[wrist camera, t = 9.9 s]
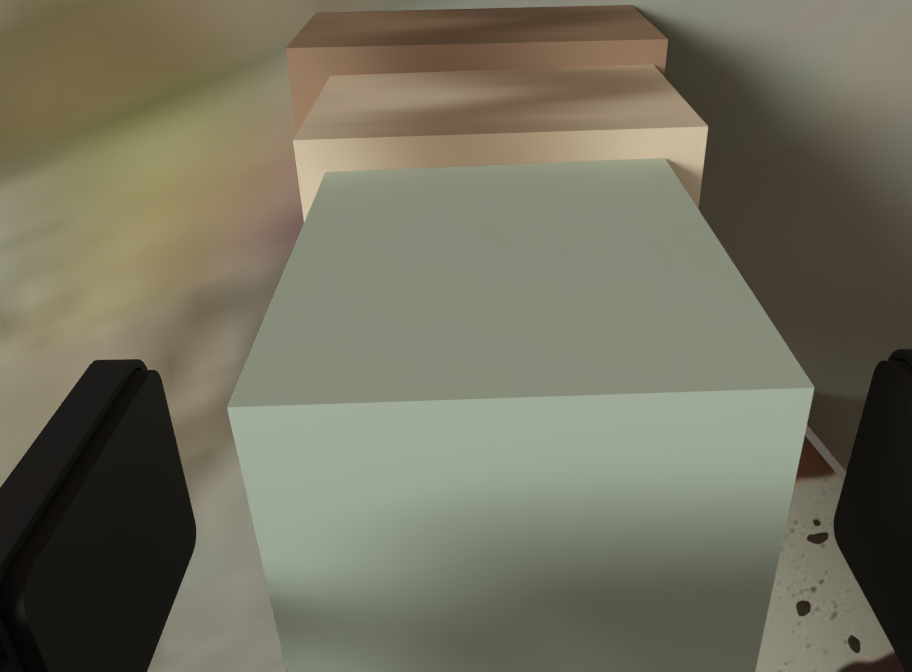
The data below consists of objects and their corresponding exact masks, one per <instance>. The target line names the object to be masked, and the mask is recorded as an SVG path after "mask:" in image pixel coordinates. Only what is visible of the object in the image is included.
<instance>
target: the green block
mask: <svg viewBox="0 0 912 672" xmlns="http://www.w3.org/2000/svg"><path fill="white" fill-rule="evenodd" d="M814 388H815V387H814V386H813V384H812V383H811V381H810V380H809V378H808V377H807V375H806V374H805V372H804V371H803V369H802V368H801V366H800V364H799V363H798V361H797V360H796V358H795V357H794V355H793V354H792V352H791V351H790V349H789V348H788V346H787V345H786V343H785V341H784V340H783V338H782V337H781V335H780V334H779V332H778V331H777V329H776V328H775V326H774V325H773V323H772V322H771V320H770V318H769V317H768V315H767V314H766V312H765V311H764V309H763V308H762V306H761V305H760V303H759V302H758V300H757V299H756V297H755V295H754V294H753V292H752V291H751V289H750V288H749V286H748V285H747V283H746V282H745V280H744V279H743V277H742V276H741V274H740V272H739V271H738V269H737V268H736V266H735V265H734V263H733V262H732V260H731V259H730V257H729V256H728V254H727V253H726V251H725V249H724V248H723V246H722V245H721V243H720V242H719V240H718V239H717V237H716V236H715V234H714V233H713V231H712V230H711V228H710V226H709V225H708V223H707V222H706V220H705V219H704V217H703V216H702V214H701V213H700V211H699V210H698V208H697V207H696V205H695V203H694V202H693V200H692V199H691V197H690V196H689V194H688V193H687V191H686V190H685V188H684V187H683V185H682V184H681V182H680V180H679V179H678V177H677V176H676V174H675V173H674V171H673V170H672V168H671V167H670V165H669V164H668V162H667V161H666V159H665V158H654V159H630V160H606V161H581V162H557V163H533V164H509V165H484V166H460V167H436V168H412V169H388V170H363V171H339V172H325V174H324V176H323V179H322V181H321V184H320V186H319V188H318V191H317V193H316V196H315V198H314V200H313V203H312V205H311V208H310V210H309V212H308V215H307V217H306V220H305V222H304V224H303V227H302V229H301V232H300V234H299V236H298V239H297V241H296V244H295V246H294V248H293V251H292V253H291V256H290V258H289V260H288V263H287V265H286V268H285V270H284V272H283V275H282V277H281V280H280V282H279V284H278V287H277V289H276V291H275V294H274V296H273V299H272V301H271V303H270V306H269V308H268V311H267V313H266V315H265V318H264V320H263V323H262V325H261V327H260V330H259V332H258V335H257V337H256V339H255V342H254V344H253V347H252V349H251V351H250V354H249V356H248V359H247V361H246V363H245V366H244V368H243V371H242V373H241V375H240V378H239V380H238V383H237V385H236V387H235V390H234V392H233V395H232V397H231V399H230V402H229V404H228V407H227V409H228V413H229V418H230V422H231V427H232V431H233V436H234V440H235V445H236V449H237V454H238V458H239V462H240V467H241V471H242V476H243V480H244V485H245V489H246V494H247V498H248V502H249V507H250V511H251V516H252V520H253V525H254V529H255V534H256V538H257V542H258V547H259V551H260V556H261V560H262V565H263V569H264V574H265V578H266V583H267V587H268V591H269V596H270V600H271V605H272V609H273V614H274V618H275V623H276V627H277V631H278V636H279V640H280V645H281V649H282V654H283V658H284V663H285V667H286V672H755V671H756V666H757V661H758V656H759V651H760V647H761V642H762V637H763V632H764V628H765V623H766V618H767V613H768V608H769V604H770V599H771V594H772V589H773V585H774V580H775V575H776V570H777V565H778V561H779V556H780V551H781V546H782V541H783V537H784V532H785V527H786V522H787V518H788V513H789V508H790V503H791V498H792V494H793V489H794V484H795V479H796V474H797V470H798V465H799V460H800V455H801V451H802V446H803V441H804V436H805V431H806V427H807V422H808V417H809V412H810V408H811V403H812V398H813V393H814Z"/></svg>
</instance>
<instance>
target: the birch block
mask: <svg viewBox="0 0 912 672" xmlns="http://www.w3.org/2000/svg"><path fill="white" fill-rule="evenodd" d="M707 133H708V126H707V125H706V123H705V122H704V121H703V120H702V119H701V118H700V117H699V116H698V114H697V113H696V112H695V111H694V110H693V109H692V108H691V107H690V105H689V104H688V103H687V102H686V101H685V100H684V99H683V98H682V96H681V95H680V94H679V93H678V92H677V91H676V90H675V88H674V87H673V86H672V85H671V84H670V83H669V82H668V81H667V79H666V78H665V77H664V76H663V75H662V74H661V73H660V72H659V70H658V69H657V68H656V67H655V66H654V65H653V64H650V65H621V66H593V67H564V68H535V69H507V70H478V71H450V72H421V73H392V74H364V75H335V76H330V77H329V79H328V81H327V82H326V84H325V86H324V88H323V89H322V91H321V93H320V94H319V96H318V98H317V100H316V101H315V103H314V105H313V107H312V108H311V110H310V112H309V113H308V115H307V117H306V119H305V120H304V122H303V124H302V126H301V127H300V129H299V131H298V132H297V134H296V136H295V138H294V139H293V144H294V151H295V158H296V166H297V173H298V180H299V188H300V195H301V202H302V210H303V217H304V222H305V220H306V217H307V215H308V212H309V210H310V208H311V205H312V203H313V200H314V198H315V196H316V193H317V191H318V188H319V186H320V184H321V181H322V179H323V176H324V174H325V172H339V171H363V170H388V169H412V168H436V167H460V166H484V165H509V164H533V163H557V162H581V161H606V160H630V159H654V158H665V159H666V161H667V162H668V164H669V165H670V167H671V168H672V170H673V171H674V173H675V174H676V176H677V177H678V179H679V180H680V182H681V184H682V185H683V187H684V188H685V190H686V191H687V193H688V194H689V196H690V197H691V199H692V200H693V202H694V203H695V205H696V207H697V208H698V209H699V200H700V192H701V184H702V175H703V167H704V158H705V150H706V142H707Z"/></svg>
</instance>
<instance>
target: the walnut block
mask: <svg viewBox="0 0 912 672" xmlns="http://www.w3.org/2000/svg"><path fill="white" fill-rule="evenodd" d="M667 46H668V39H667V38H666V37H665V36H664V35H663V34H662V33H661V32H660V31H659V30H658V29H657V28H656V27H655V26H653V25H652V24H651V23H650V22H649V21H648V20H647V19H646V18H645V17H644V16H643V15H642V14H641V13H640V12H638V11H637V10H636V9H635V8H634V7H633V6H632V5H613V6H572V7H530V8H488V9H447V10H405V11H364V12H322V13H316V14H315V15H314V16H313V17H312V18H311V19H310V21H309V22H308V23H307V24H306V25H305V26H304V28H303V29H302V30H301V31H300V32H299V33H298V35H297V36H296V37H295V38H294V39H293V40H292V42H291V43H290V44H289V45H288V46H287V47H286V54H287V62H288V70H289V78H290V86H291V94H292V103H293V111H294V119H295V127H296V134H297V132H298V131H299V129H300V127H301V126H302V124H303V122H304V120H305V119H306V117H307V115H308V113H309V112H310V110H311V108H312V107H313V105H314V103H315V101H316V100H317V98H318V96H319V94H320V93H321V91H322V89H323V88H324V86H325V84H326V82H327V81H328V79H329V77H330V76H335V75H364V74H392V73H421V72H450V71H478V70H507V69H535V68H564V67H593V66H621V65H650V64H653V65H654V66H655V67H656V68H657V69H658V70H659V72H660V73H661V74H662V75H663V76H665V66H666V56H667Z"/></svg>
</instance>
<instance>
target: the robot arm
mask: <svg viewBox="0 0 912 672" xmlns="http://www.w3.org/2000/svg"><path fill="white" fill-rule="evenodd" d="M833 528H834V535H835V539H836V542H837V545H838V547H839V549H840V551H841V553H842V555H843V556H844V558H845V560H846V562H847V564H848V566H849V568H850V569H851V571H852V573H853V575H854V577H855V579H856V581H857V582H858V584H859V586H860V588H861V590H862V592H863V594H864V595H865V597H866V599H867V601H868V603H869V605H870V607H871V608H872V610H873V612H874V614H875V616H876V618H877V620H878V621H879V623H880V625H881V627H882V629H883V631H884V633H885V634H886V636H887V638H888V640H889V642H890V644H891V646H892V647H893V649H894V651H895V653H896V655H897V657H898V659H899V660H900V662H901V664H902V666H903V668H904V670H905V672H912V349H898V350H896V351H894V352H893V353H892V354H891V356H890V357H889V359H888V361H881V362H879V363H878V365H877V366H876V368H875V371H874V374H873V377H872V381H871V384H870V388H869V392H868V395H867V399H866V403H865V406H864V410H863V414H862V417H861V421H860V424H859V428H858V432H857V435H856V439H855V443H854V446H853V450H852V454H851V457H850V461H849V464H848V468H847V472H846V475H845V479H844V483H843V486H842V490H841V494H840V497H839V501H838V504H837V508H836V512H835V515H834V525H833ZM195 542H196V524H195V519H194V515H193V511H192V506H191V502H190V498H189V494H188V490H187V485H186V481H185V477H184V473H183V468H182V464H181V460H180V456H179V451H178V447H177V443H176V439H175V435H174V430H173V426H172V422H171V418H170V413H169V409H168V405H167V401H166V397H165V392H164V388H163V384H162V380H161V377H160V375H159V373H158V372H157V371H155V370H147V367H146V365H145V364H144V362H143V361H141V360H139V359H133V360H96V361H94V362H93V363H92V364H90V366H89V367H88V368H87V370H86V371H85V373H84V374H83V375H82V377H81V378H80V379H79V381H78V382H77V383H76V385H75V386H74V388H73V389H72V390H71V392H70V393H69V394H68V396H67V397H66V399H65V400H64V401H63V403H62V404H61V405H60V407H59V408H58V410H57V411H56V412H55V414H54V415H53V416H52V418H51V419H50V421H49V422H48V423H47V425H46V426H45V427H44V429H43V430H42V432H41V433H40V434H39V436H38V437H37V438H36V440H35V441H34V442H33V444H32V445H31V447H30V448H29V449H28V451H27V452H26V453H25V455H24V456H23V458H22V459H21V460H20V462H19V463H18V464H17V466H16V467H15V469H14V470H13V471H12V473H11V474H10V475H9V477H8V478H7V479H6V481H5V482H4V484H3V485H2V486H1V488H0V672H147V670H148V667H149V665H150V662H151V660H152V657H153V654H154V652H155V649H156V647H157V644H158V642H159V639H160V636H161V634H162V631H163V629H164V626H165V623H166V621H167V618H168V616H169V613H170V611H171V608H172V605H173V603H174V600H175V598H176V595H177V592H178V590H179V587H180V585H181V582H182V580H183V577H184V574H185V572H186V569H187V567H188V564H189V561H190V559H191V556H192V554H193V551H194V547H195Z"/></svg>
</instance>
